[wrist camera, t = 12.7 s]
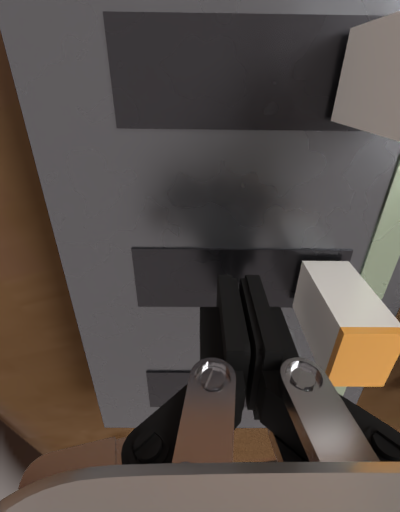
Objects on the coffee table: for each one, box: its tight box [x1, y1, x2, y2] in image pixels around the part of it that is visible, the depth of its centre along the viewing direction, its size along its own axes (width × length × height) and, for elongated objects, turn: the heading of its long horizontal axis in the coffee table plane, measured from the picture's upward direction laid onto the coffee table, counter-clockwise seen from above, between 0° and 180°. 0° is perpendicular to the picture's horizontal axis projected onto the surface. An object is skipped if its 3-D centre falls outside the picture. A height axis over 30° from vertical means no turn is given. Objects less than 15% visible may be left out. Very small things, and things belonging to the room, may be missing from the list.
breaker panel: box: [0, 0, 400, 428], centre depth 15 cm, size 16×24×3 cm, turn 179°
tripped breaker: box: [293, 261, 400, 387], centre depth 12 cm, size 2×2×4 cm
